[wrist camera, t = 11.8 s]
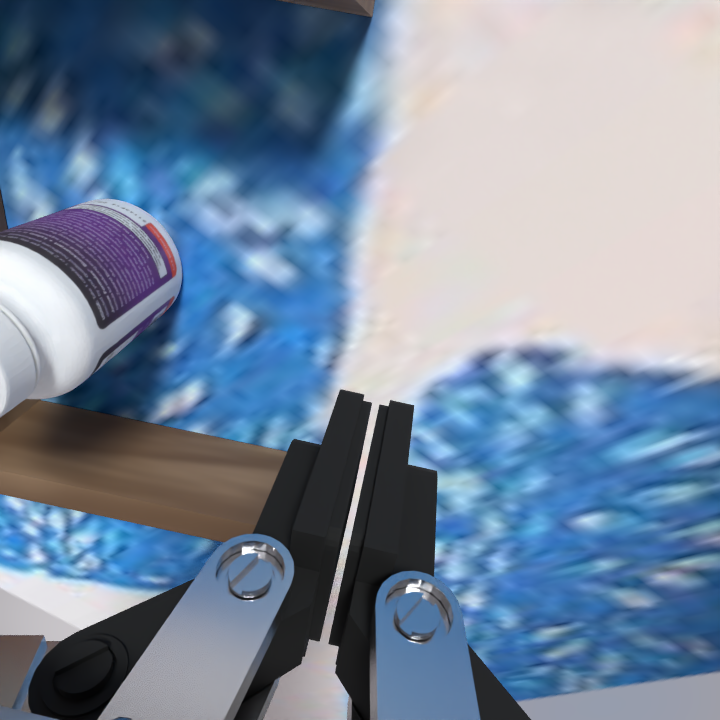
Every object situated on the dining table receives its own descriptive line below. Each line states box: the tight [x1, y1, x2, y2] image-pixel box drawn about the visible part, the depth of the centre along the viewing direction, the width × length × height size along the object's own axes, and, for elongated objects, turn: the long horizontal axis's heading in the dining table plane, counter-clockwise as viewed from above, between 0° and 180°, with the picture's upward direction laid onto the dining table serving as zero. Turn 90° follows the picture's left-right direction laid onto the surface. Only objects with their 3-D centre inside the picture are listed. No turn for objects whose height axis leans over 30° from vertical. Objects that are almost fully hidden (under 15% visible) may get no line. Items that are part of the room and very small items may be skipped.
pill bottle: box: [0, 199, 182, 417], centre depth 18 cm, size 5×5×10 cm
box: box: [0, 0, 375, 542], centre depth 20 cm, size 22×16×5 cm
